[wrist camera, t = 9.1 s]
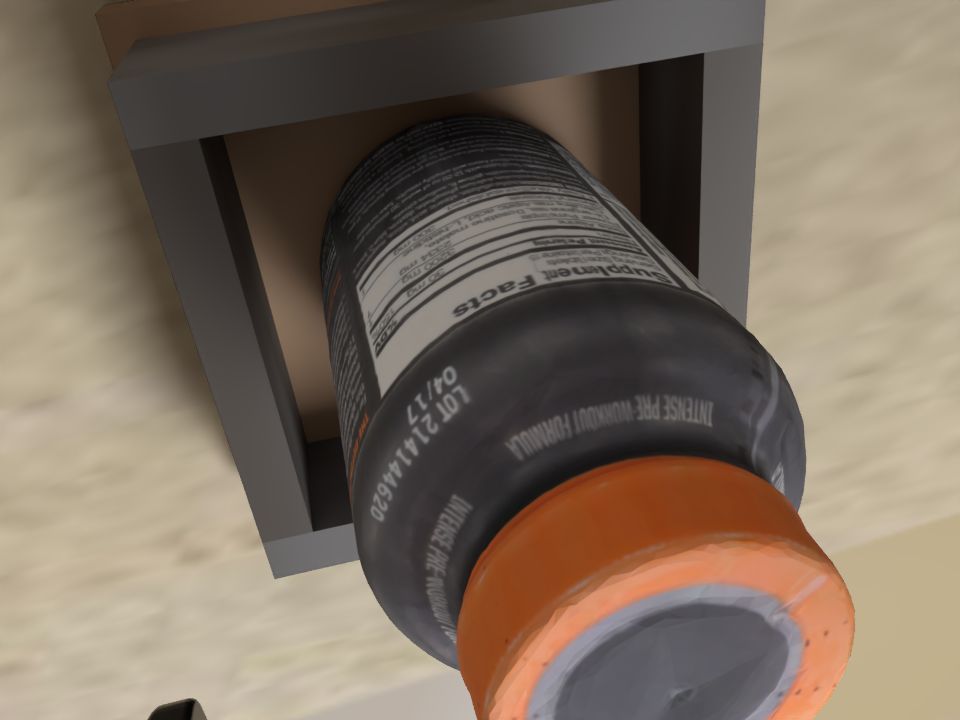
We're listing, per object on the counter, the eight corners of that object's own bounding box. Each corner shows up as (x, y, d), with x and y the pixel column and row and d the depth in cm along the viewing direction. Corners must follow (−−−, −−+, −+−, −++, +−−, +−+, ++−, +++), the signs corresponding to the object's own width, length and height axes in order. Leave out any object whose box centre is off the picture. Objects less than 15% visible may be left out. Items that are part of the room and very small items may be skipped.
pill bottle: (536, 395, 20) (770, 884, 11) (284, 341, 18) (300, 885, 9) (645, 157, 18) (1075, 520, 8) (368, 62, 16) (518, 402, 6)
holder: (692, -85, 17) (800, -65, 13) (684, 388, 22) (757, 485, 19) (104, 4, 15) (57, 50, 12) (258, 480, 21) (256, 601, 18)
